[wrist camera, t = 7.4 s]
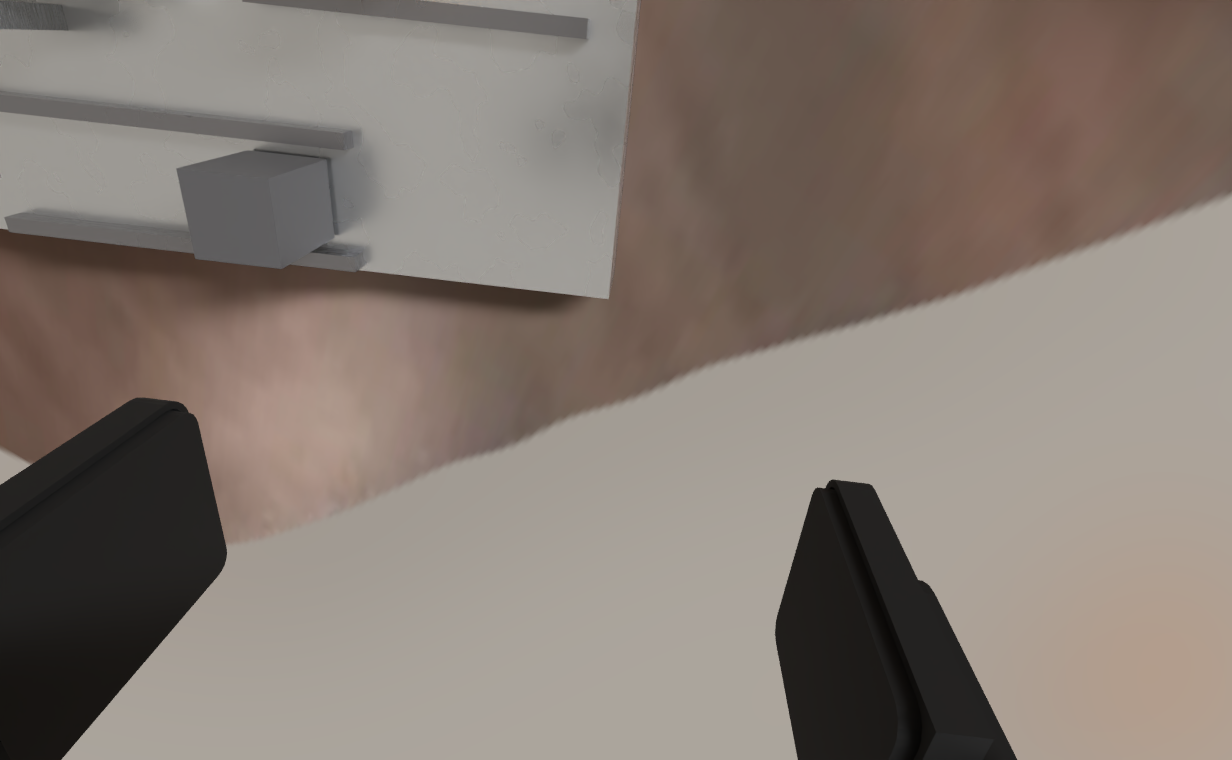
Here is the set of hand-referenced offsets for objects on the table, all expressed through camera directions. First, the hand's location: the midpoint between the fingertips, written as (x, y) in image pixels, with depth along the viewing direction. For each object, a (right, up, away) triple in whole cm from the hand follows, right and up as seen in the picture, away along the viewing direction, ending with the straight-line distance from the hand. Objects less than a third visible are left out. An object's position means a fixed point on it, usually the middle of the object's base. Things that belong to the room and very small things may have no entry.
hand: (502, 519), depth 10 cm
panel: (-11, +15, +16) cm, 24 cm away
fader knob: (-11, +9, +15) cm, 21 cm away
